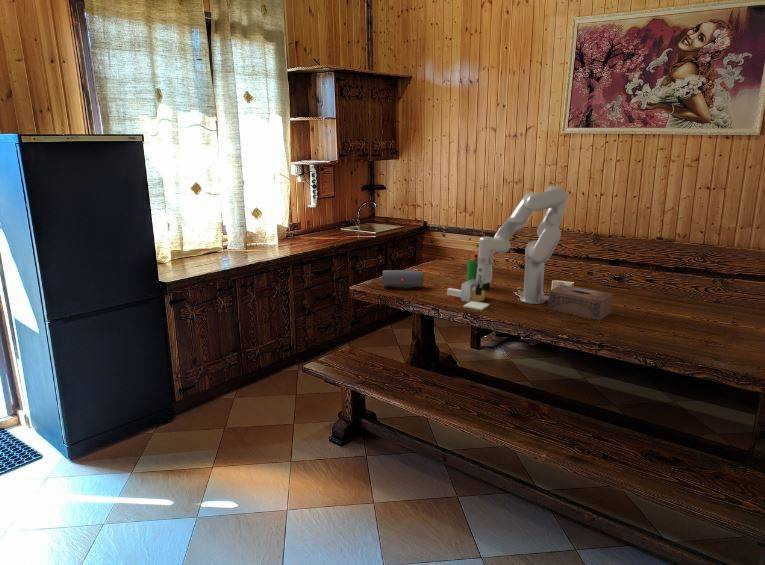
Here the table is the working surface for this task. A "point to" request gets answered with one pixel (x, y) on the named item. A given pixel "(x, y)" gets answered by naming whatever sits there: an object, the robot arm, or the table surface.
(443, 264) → the table surface
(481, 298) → the plug block
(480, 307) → the mat
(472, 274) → the motor
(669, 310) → the table surface
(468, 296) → the housing
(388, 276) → the bluetooth speaker
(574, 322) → the table surface
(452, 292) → the push rod
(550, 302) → the tissue box cover
